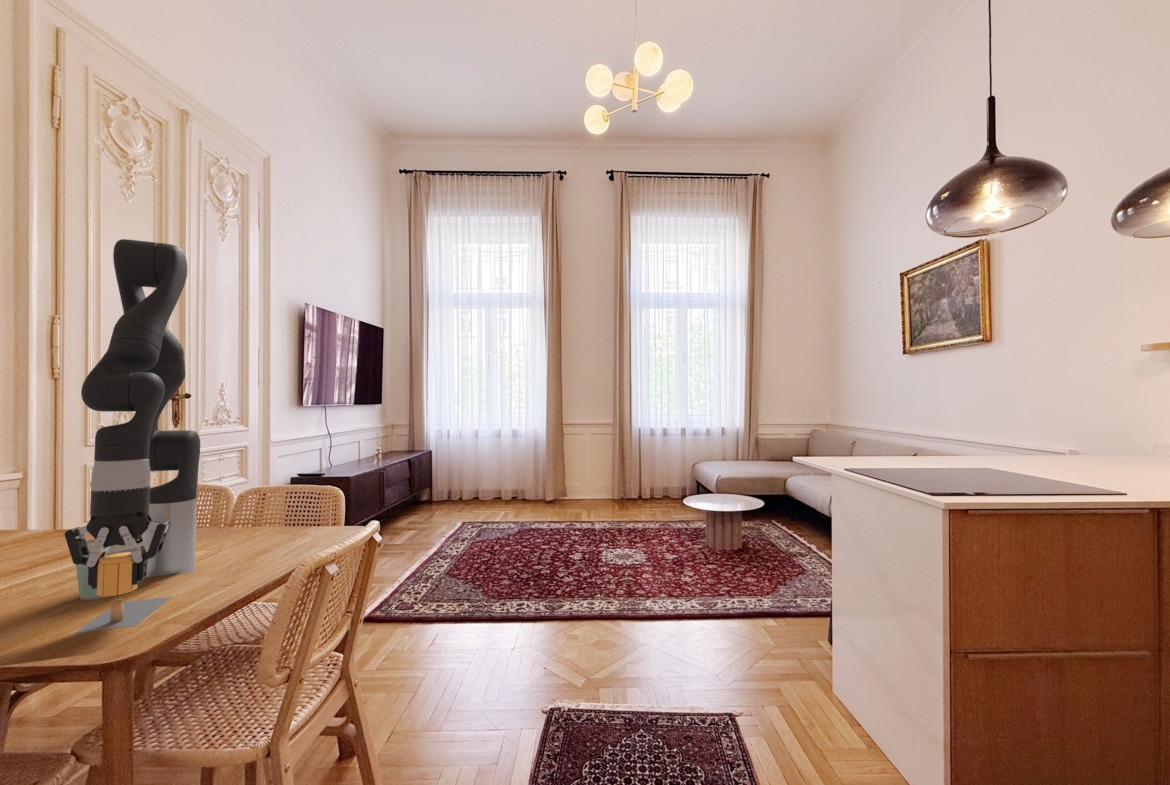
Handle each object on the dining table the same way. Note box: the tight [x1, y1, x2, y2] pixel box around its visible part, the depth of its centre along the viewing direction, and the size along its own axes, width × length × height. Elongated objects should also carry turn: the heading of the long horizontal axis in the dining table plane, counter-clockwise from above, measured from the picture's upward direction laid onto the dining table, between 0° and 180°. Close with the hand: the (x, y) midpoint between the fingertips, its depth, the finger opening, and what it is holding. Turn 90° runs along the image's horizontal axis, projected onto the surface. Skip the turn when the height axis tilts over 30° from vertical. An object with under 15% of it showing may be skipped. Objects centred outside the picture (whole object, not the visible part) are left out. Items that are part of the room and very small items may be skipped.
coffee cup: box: [75, 538, 129, 601], centre depth 98 cm, size 9×8×12 cm
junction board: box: [74, 596, 171, 634], centre depth 88 cm, size 14×8×5 cm, turn 21°
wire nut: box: [97, 552, 138, 598], centre depth 85 cm, size 5×5×6 cm
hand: (117, 584), depth 85 cm, fingers closed on wire nut, 4 cm apart
